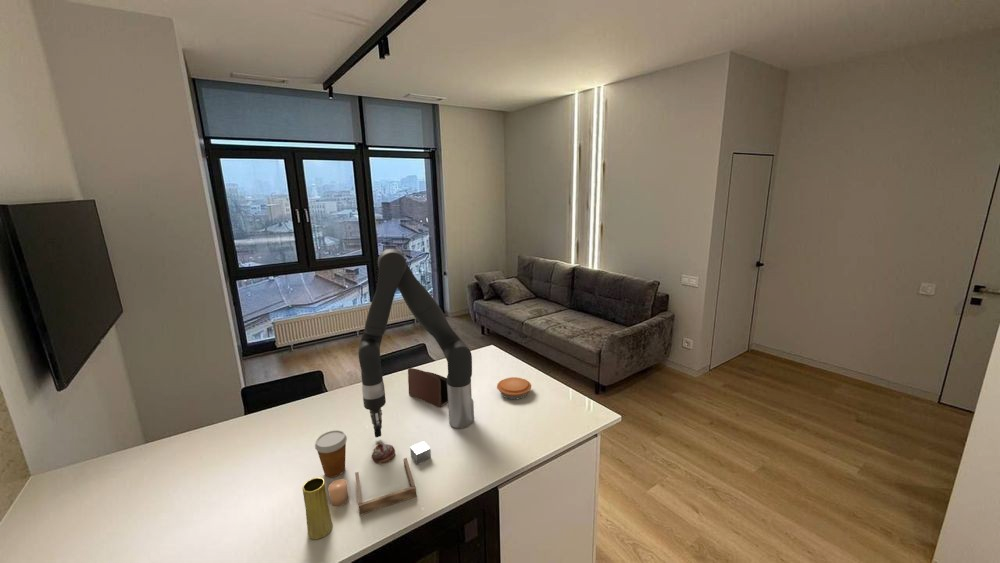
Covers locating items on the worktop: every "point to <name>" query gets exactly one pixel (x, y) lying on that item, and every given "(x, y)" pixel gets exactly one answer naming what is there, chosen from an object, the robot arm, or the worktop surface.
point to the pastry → (383, 453)
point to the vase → (317, 508)
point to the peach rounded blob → (338, 492)
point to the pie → (514, 387)
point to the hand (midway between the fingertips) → (378, 435)
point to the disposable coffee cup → (332, 452)
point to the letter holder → (428, 387)
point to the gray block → (420, 452)
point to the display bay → (389, 498)
